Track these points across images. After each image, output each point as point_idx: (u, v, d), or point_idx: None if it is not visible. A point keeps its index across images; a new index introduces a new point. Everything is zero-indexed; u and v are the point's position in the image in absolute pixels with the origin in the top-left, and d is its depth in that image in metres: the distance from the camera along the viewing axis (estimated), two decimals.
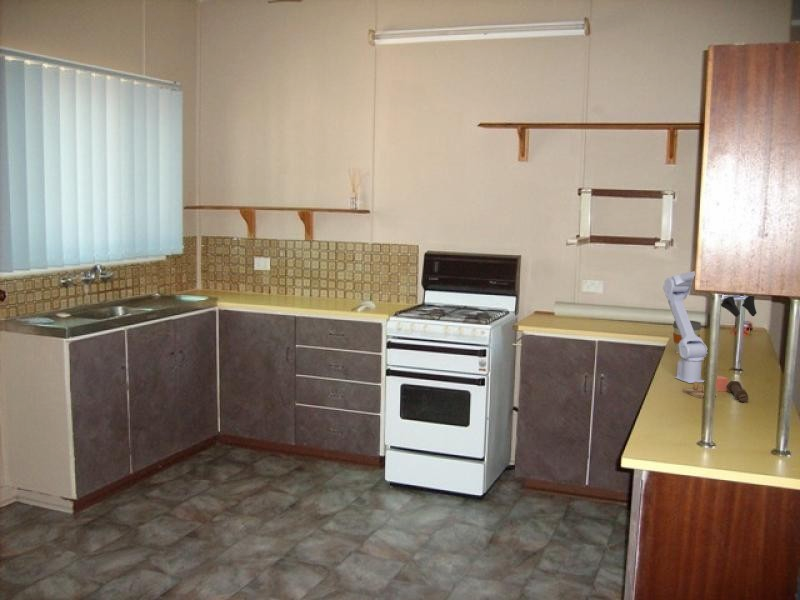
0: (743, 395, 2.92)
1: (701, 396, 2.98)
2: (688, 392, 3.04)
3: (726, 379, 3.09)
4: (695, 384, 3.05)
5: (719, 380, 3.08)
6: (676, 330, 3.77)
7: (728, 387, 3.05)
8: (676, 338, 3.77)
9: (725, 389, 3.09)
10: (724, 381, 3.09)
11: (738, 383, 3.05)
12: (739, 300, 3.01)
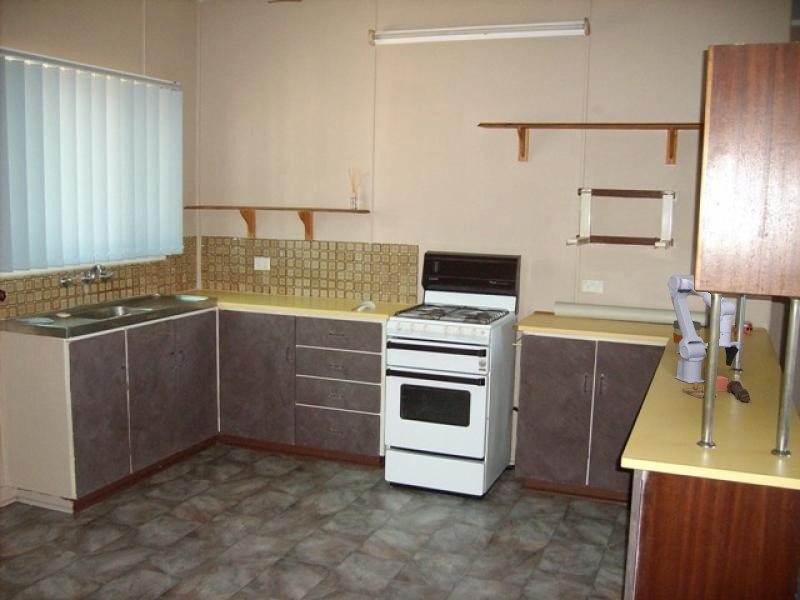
0: (745, 395, 2.92)
1: (701, 396, 2.98)
2: (688, 392, 3.04)
3: (726, 379, 3.09)
4: (695, 384, 3.05)
5: (719, 380, 3.08)
6: (676, 330, 3.77)
7: (729, 387, 3.06)
8: (676, 338, 3.77)
9: (725, 389, 3.09)
10: (724, 381, 3.09)
11: (738, 383, 3.05)
12: None
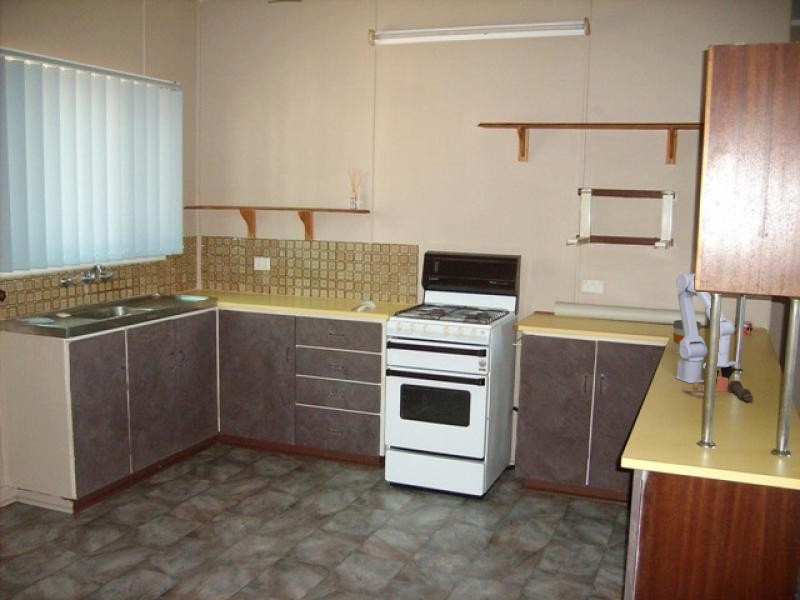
0: (748, 395, 2.92)
1: (701, 396, 2.98)
2: (688, 392, 3.04)
3: (726, 379, 3.09)
4: (695, 384, 3.05)
5: (719, 380, 3.08)
6: (676, 330, 3.77)
7: (729, 387, 3.06)
8: (676, 338, 3.77)
9: (725, 389, 3.09)
10: (724, 381, 3.09)
11: (739, 383, 3.05)
12: None
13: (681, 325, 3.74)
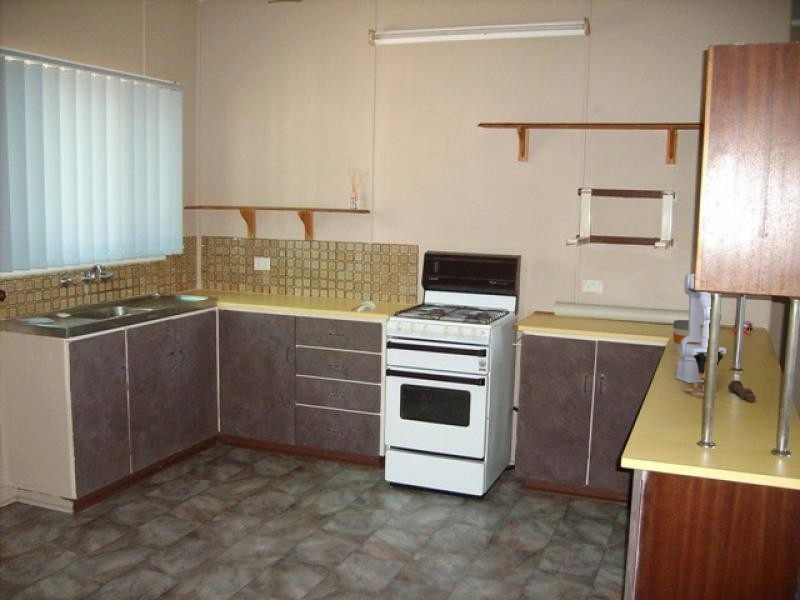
0: (751, 395, 2.93)
1: (701, 396, 2.98)
2: (688, 392, 3.04)
3: None
4: (695, 384, 3.05)
5: None
6: (676, 330, 3.77)
7: (730, 387, 3.06)
8: (676, 338, 3.77)
9: None
10: None
11: (739, 382, 3.05)
12: None
13: (681, 325, 3.74)
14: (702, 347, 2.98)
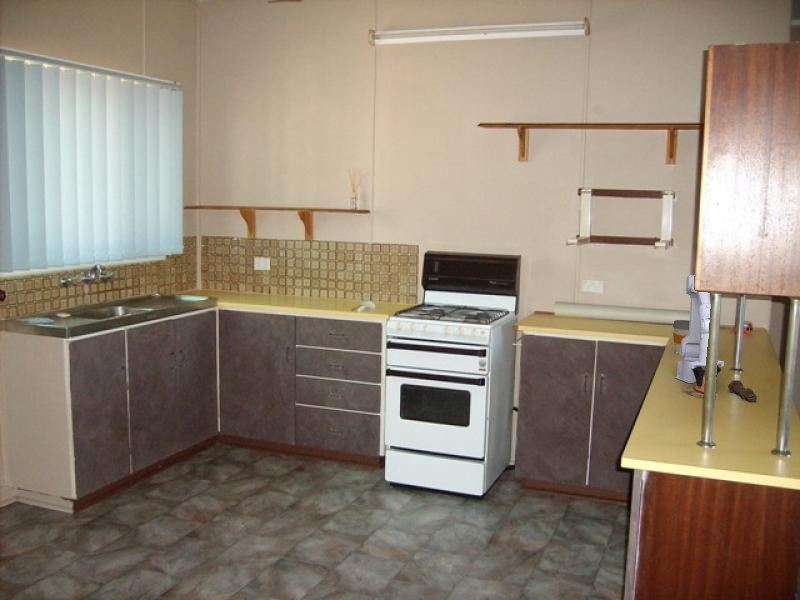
0: (752, 395, 2.93)
1: (701, 396, 2.98)
2: (688, 392, 3.04)
3: None
4: (695, 384, 3.05)
5: None
6: (676, 330, 3.77)
7: (730, 387, 3.06)
8: (676, 338, 3.77)
9: None
10: None
11: (740, 382, 3.06)
12: None
13: (681, 325, 3.74)
14: (700, 360, 2.98)
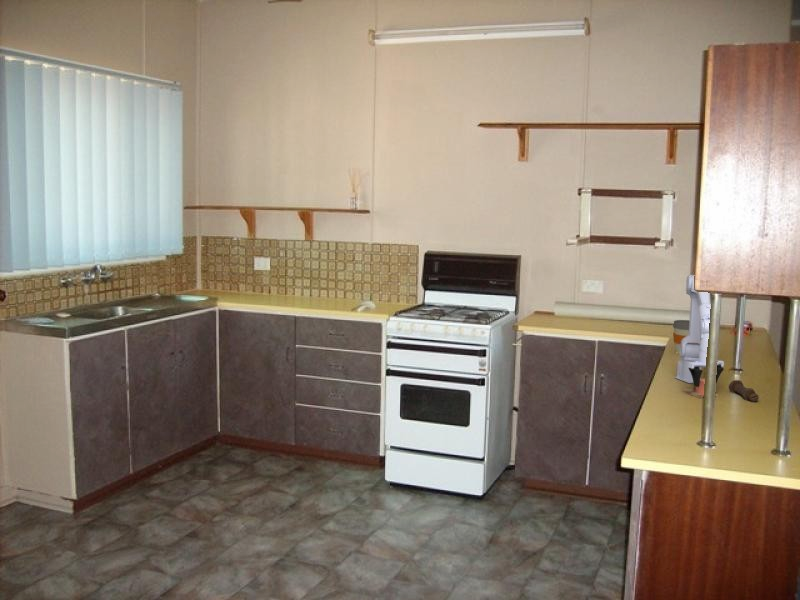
0: (754, 394, 2.93)
1: (701, 396, 2.98)
2: (688, 392, 3.04)
3: None
4: None
5: None
6: (676, 330, 3.77)
7: (731, 387, 3.06)
8: (676, 338, 3.77)
9: None
10: None
11: (740, 382, 3.06)
12: None
13: (681, 325, 3.74)
14: (700, 360, 2.98)
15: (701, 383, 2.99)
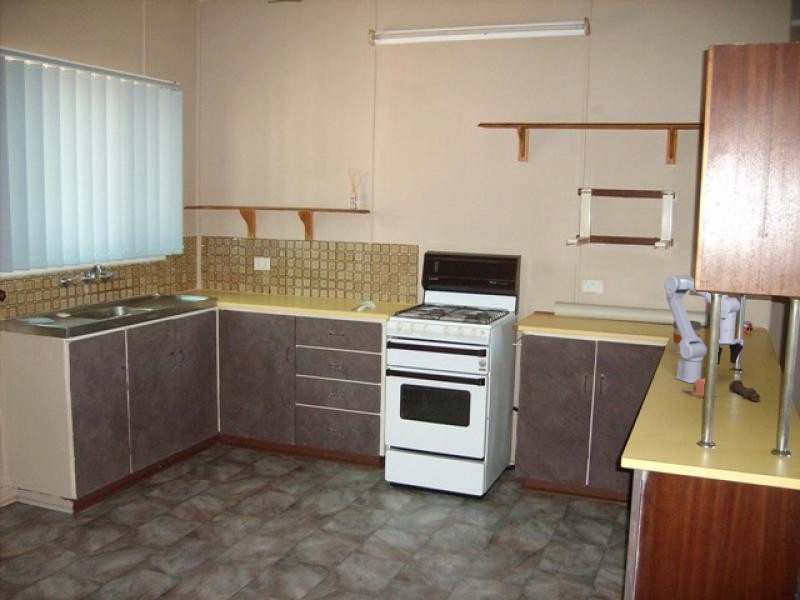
0: (756, 394, 2.93)
1: (701, 396, 2.98)
2: (688, 392, 3.04)
3: None
4: (695, 384, 3.05)
5: None
6: (676, 330, 3.77)
7: (731, 387, 3.06)
8: (676, 338, 3.77)
9: None
10: None
11: (740, 382, 3.06)
12: None
13: None
14: (720, 339, 3.09)
15: (701, 383, 2.99)
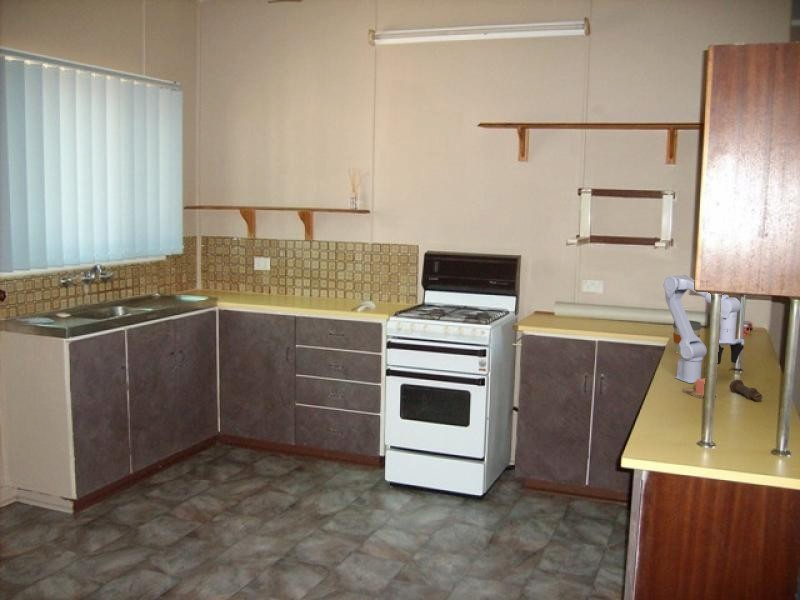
0: (758, 394, 2.94)
1: (701, 396, 2.98)
2: (688, 392, 3.04)
3: None
4: (695, 384, 3.05)
5: None
6: (676, 330, 3.77)
7: (732, 386, 3.06)
8: (676, 338, 3.77)
9: None
10: None
11: (741, 382, 3.06)
12: None
13: None
14: (721, 338, 3.09)
15: (701, 383, 2.99)
